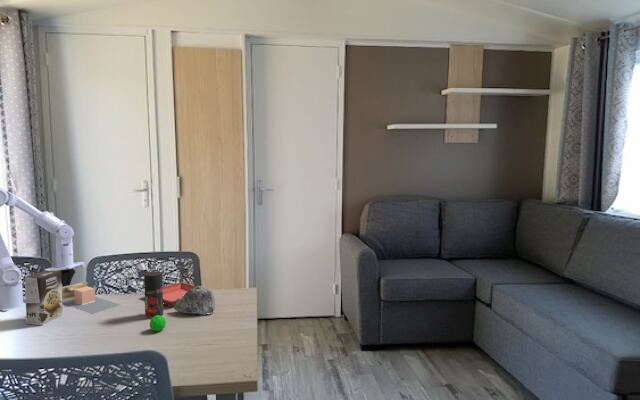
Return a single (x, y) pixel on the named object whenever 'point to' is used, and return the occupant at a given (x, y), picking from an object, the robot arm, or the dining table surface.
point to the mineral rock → (196, 301)
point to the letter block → (84, 295)
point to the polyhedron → (157, 323)
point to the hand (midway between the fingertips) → (66, 288)
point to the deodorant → (153, 294)
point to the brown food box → (43, 297)
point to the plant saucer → (175, 292)
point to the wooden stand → (71, 291)
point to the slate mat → (92, 305)
